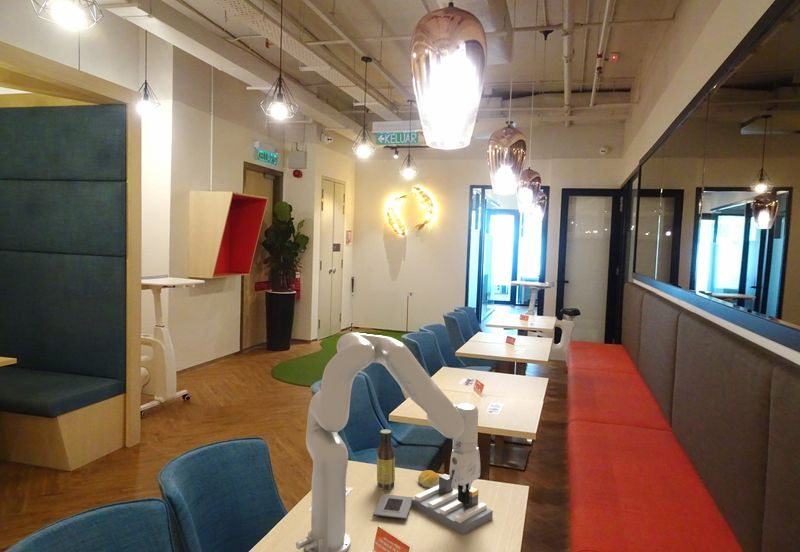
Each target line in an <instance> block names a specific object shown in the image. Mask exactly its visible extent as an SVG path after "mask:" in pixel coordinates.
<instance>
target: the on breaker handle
mask: <svg viewBox="0 0 800 552" xmlns="http://www.w3.org/2000/svg"><path fill="white" fill-rule="evenodd" d="M451 484H452V481H450V477H449V474H447V473H443V474H442V475H440V476H439V493H441V494H443V495H445V494H448V493H450V492H452V491H454V488H452V487H451Z"/></svg>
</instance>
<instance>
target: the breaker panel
mask: <svg viewBox="0 0 800 552" xmlns="http://www.w3.org/2000/svg"><path fill="white" fill-rule="evenodd" d="M487 505H488V504H486V503H485V502H482V501H481V502H480V503H479V502H478V504H477V505H476V506H474V507H472V508H470V509H469V508H467V507H465V506H463V503H461V502H459V501H458V489H453V491H452V492H450V493H448V494H445V495H443V494H441V493H439V485H437V486H435V487H433V488H427V490H424V491H422V492H420V493H417V494H415V495H414V497H413V498H412V504H411V507H412V508H414V509H416V510H417V511H419V512H421V513H423V514H425V515H427V516H428V517H430V518H432V519H435V520H436V521H438V522H439V523H442V524H444V526H445V525H446V526H447V527H449V528H450V529H452V530H454V531H456V532H458V533H460V534H462V536H463V535H465V534H467V533H469V532H471V531H473V530H474V529H476V528H478V527H480V526H481V525H484V524H485V523H486V522H488V521H491V519H493V513H494V510H493V509H490V508H488V506H487Z"/></svg>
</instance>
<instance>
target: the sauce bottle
mask: <svg viewBox="0 0 800 552" xmlns="http://www.w3.org/2000/svg"><path fill="white" fill-rule="evenodd" d="M379 436H380V442H379V443H380V444H379V446H378V447H377V451H376V480H377V481H376V482H377V483H376V485H377V487H378V488H379V489H381V490H391V489H393V488H394V487H395V480H396V478H395V477H396V473H395V470H396V469H395V468H396V466H395V464H396V458H395V457H396V456H395V448H394V446H393V445H392V430H391V429H380V431H379Z"/></svg>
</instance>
